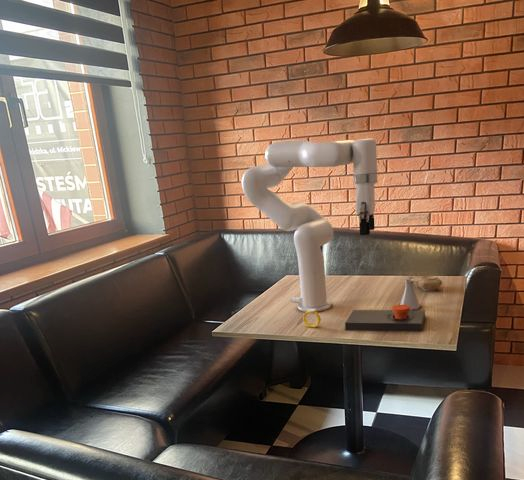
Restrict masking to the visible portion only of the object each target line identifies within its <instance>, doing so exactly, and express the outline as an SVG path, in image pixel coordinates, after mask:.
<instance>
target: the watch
mask: <svg viewBox="0 0 524 480" xmlns="http://www.w3.org/2000/svg"><path fill="white" fill-rule="evenodd" d="M308 313H309V314H314V315H315V316H316V318H317V323H316V325H315V324H310V323H309V322H308V321H307V314H308ZM302 321H303V323H304V325H306V327H311V328H317V327H318V326H319V325H320V324H321V321H322V320H321V315H320V313H319V312H316V310H315V309H308V310H307V312H304V314H303V315H302Z"/></svg>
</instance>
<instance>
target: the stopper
mask: <svg viewBox="0 0 524 480" xmlns="http://www.w3.org/2000/svg"><path fill="white" fill-rule="evenodd" d="M391 310H392V311H393V312H395V318H396V319H405V318H407V312H409V311H410V306H408V305H400V304H395V305H392V307H391Z"/></svg>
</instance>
